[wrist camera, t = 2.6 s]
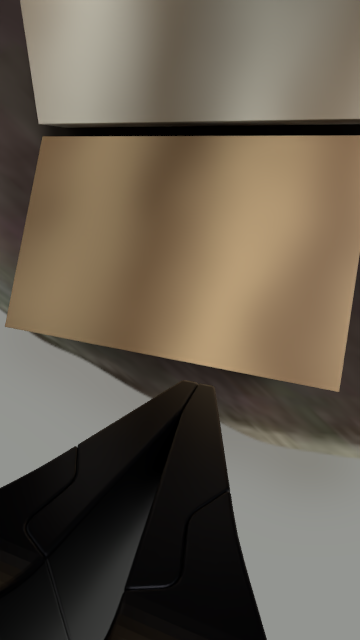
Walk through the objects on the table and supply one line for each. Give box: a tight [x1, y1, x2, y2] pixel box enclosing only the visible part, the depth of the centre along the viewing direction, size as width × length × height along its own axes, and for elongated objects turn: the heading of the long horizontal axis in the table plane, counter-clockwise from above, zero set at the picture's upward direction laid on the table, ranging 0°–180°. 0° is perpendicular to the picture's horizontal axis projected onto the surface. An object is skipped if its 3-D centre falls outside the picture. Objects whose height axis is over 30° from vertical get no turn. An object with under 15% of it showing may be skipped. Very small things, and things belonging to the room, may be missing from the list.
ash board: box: [20, 0, 360, 128], centre depth 13 cm, size 14×6×2 cm, turn 89°
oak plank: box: [5, 135, 360, 392], centre depth 14 cm, size 14×9×2 cm, turn 89°
